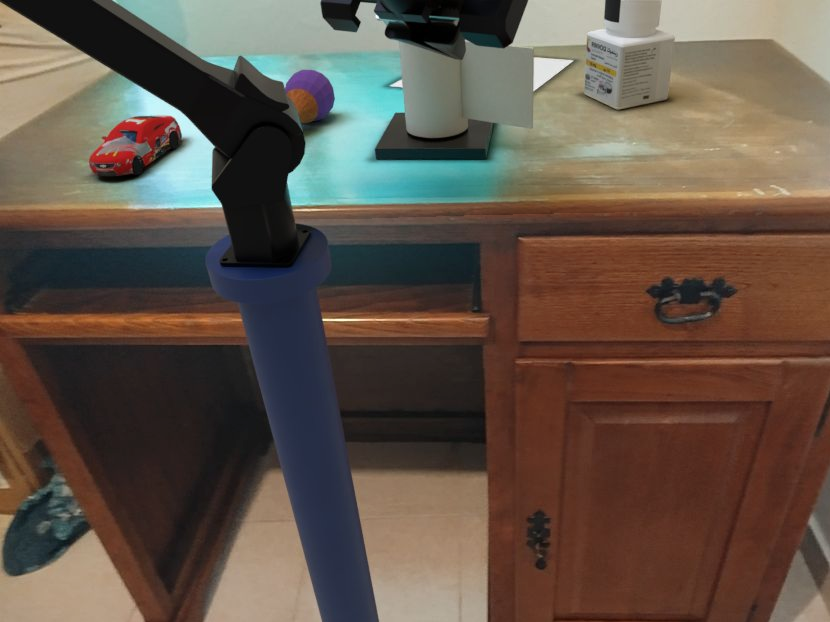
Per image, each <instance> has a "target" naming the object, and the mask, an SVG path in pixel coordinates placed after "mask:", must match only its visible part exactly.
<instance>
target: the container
mask: <svg viewBox="0 0 830 622" xmlns="http://www.w3.org/2000/svg"><path fill="white" fill-rule="evenodd" d="M662 3H663V0H604V13H603V14H604V15H603V27H605V28H602V29H595V30H590V31H588V32H587V34H586V47H585V48H586V49H585V64H584V65H585V67H584V84H583V85H584V86H583V94H584V95H585V96H587V97H590V98H591V99H593V100H595V101H598V102H600V103H602V104H605V105H606V106H608V107H610V108H612V109H615V110H617V111H618V110H619V111H620V110H622V109H623V110H624V109H629V108H633V107H638V106H643V105H648V104H653V103H658V102H662V101H666V100H668V98H669V89H670V82H671V75H672V73H671V72H672V66H673V57H674V49H675V41H676V40H675V39H676V36H675V35H674V34H672V33H669V32H665V31H663V30H659V29H657V28H659V26H660V20H661V12H662V11H661V10H662Z"/></svg>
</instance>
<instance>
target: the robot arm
mask: <svg viewBox="0 0 830 622" xmlns="http://www.w3.org/2000/svg"><path fill="white" fill-rule="evenodd" d="M0 3H1V4H2V5H4V6H6V7H7V8H9V9H11V10H12V11H14V12H16V13H17V14H19V15H21V16H22V17H24V18H26V19H27V20H29V21H30V22H32V23H33V24H36V25H37V26H39V27H40V28H42V29H43V30H45V31H47V32H49V33H50V34H52V35H54V36H55V37H57V38H59V40H62V41H64V42H65V43H66V44H68V45H70V46H72V47H74V48H75V49H77V50H78V51H80V52H82V53H83V54H85V55H86V56H89V57H90V58H92V59H94V60H95V61H97V62H98V63H100V64H102V65H103V66H104V67H106V68H108V69H110V70H112V71H113V72H115V73H116V74H119V75H120V76H121V77H123V78H124V79H127V80H128V81H130V82H131V83H133V84H135V85H136V86H138V87H139V88H141V89H143V90H144V91H146V92H148V93H149V94H151V95H153V96H154V97H156V98H158V99H160V100H161V101H163V102H164V103H166V104H168V105H169V106H171V107H173V108H175V109H176V110H178V111H179V112H180V113H182V115H184V116H185V117H186V118H187V119H188V120H189V121H190V122H191V124H192V125H194V127H195V128H196V129H197V130H198V131H199V132H200V133H201V134H202V135H203V136H204V137H205V138H206V139H207V141H209V143H211V144H212V146H213V148H212V153H211V156H212V158H211V191H212V192H213V194H214V196H215V197H216V198H217V200H218V201H219V203H220V204H221V209H222V213H223V216H224V220H225V224H226V227H227V228H226V229H227V232H228V235H229V236H230V240H231V243H232V244H231V246H230V247H229V248H228V250H227V251H226V252H225V253H224V255H223V256H222V257H221V259H220V260H219V262H220V265H221V266H222V267H263V268H289V267H292V266H293V265H294V263H295V261H296V260H297V258H298V256H299V255H300V253H301V251H302V250H303V248H304V246H305V245H306V243H307V241H308V240H309V238H310V237H311V231H310V230H309V229H296V225H295V223H296V221H295V220H296V219H295V215H294V210H293V205H292V201H291V195H290V190H289V184H288V179H289V174H291V173H293V172H294V170H296V169H297V168H298V167H299V166H300V164H301V163H302V161H303V158H304V157H305V153H306V139H305V136H304V131H303V127H302V123H300V119H299V116H298V112H297V109H296V107H295V105H294V103H293V102H292V100H291V99H290V98H289V97H288V96H287V95H286V91H285V84H284V82H283V81H282V80H278V79H273V78H270V77H268V76H266V75H265V74H263V73H262V72H261V71H259V69H258V68H256V66H254V65H253V64H252V63H251V62H250V61H249V60H248V59H246V57H244V56H242V55H239V56H238V57H237V59H236V62H235V63H234V64H235V65H234V68H233V69H232V68H228V67H224V66H222V65H217V64H214V63H212V62H209V61H207V60H205V59H203V58H201V57H200V56H198V55H197V54H196V53H194V52H192V51H191V50H189V49H188V48H186V47H185V46H183V45H182V44H180V43H178V42H177V41H176V40H174V39H172V38H171V37H169V36H167V35H166V34H165V33H164V32H162V31H160V30H158V29H157V28H155V27H154V26H152V25H151V24H150V23H148V22H146V21H145V20H143V19H142V18H141V17H139V16H137V15H136V14H134V13H133V12H131V11H130V10H128V9H126V8H125V7H123V6H122V5H120V3H117V2H116V1H114V0H0ZM319 3H320V10H321V16H322V19H323V20H324V21H325V23H327V24H328V25H329V26H330V27H331V28H332V30H334V31H340V32H350V33H357V32H358V31H359V28H360V26H361V24H362V21H361V20H360V18H359V17H358V16H356V15H357V13H358V10H359V7H360V5H361V3H367V4H375V7H374V9H373V12H374V14H375V19H376V20H377V21H379V22H380V21H381V22H383V23H384V24H385V29H384V36H385V37H386V38H387V40H388V39H389V40H391V41H397V42H398V41H400V42H403V43H407V44H410V45H413V46H416V47H420V48H423V49H426V50H429V51H432V52H435V53H438V54H441V55H444V56H447V57H450V58H453V59H457V60H463V57H464V55H465V52H466V45H465V39H466V40H467V41H469V42H471V43H473V44H475V45H477V46H485V47H494V48H503V49H504V48H506V47H507V46H509V45H512V44H513V43H514V40H515V38H516V35H517V33H518V29H519V27H520V24H521V22H522V19H523V16H524V13H525V11H526V7H527V5H528V3H529V0H320V2H319Z"/></svg>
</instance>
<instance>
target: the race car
mask: <svg viewBox="0 0 830 622" xmlns="http://www.w3.org/2000/svg"><path fill="white" fill-rule="evenodd" d="M182 138H183V134H182V131H181V127H180V124H179V123H178V120H177V119H176V118H175V117H173V116H172V115H160V114H159V115H155V114H154V115H138V116H137V115H136V116H132V117H129V118H127V119H124V120H122V121H121V122H120V123H118V124H116V125H115V126H114V127H113V128H112V129H111V131H109V133H108V135H107V136H106V135H103V136H101V139H102V140H103V143H102V144H101V145H99V147H98V148H97V149H96V150H94V151H93V152H92V153H91V155H90V156H89V158H88V164H89V168H90V169H91V173H93V174H94V175H95V176H100V177H121V176H126V175H134V176H140V175H142V173H143V172H144V167H147V166H148V165H150V164H151V163H152V162H154V161H155V160H157V159H158V158H160V157H161V156H162V155H164V154H165V153H166V152H168V151H169V150H174V149H177V148H178V146H179V142H180V141H181V140H182Z"/></svg>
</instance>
